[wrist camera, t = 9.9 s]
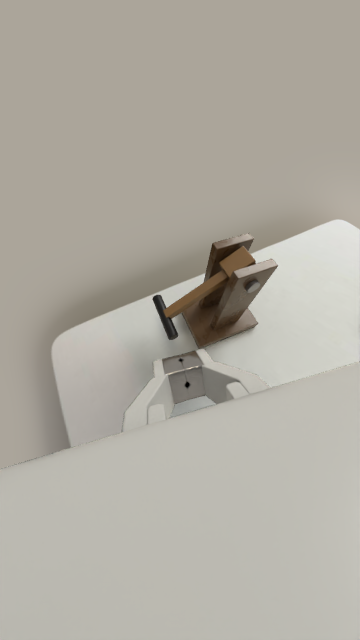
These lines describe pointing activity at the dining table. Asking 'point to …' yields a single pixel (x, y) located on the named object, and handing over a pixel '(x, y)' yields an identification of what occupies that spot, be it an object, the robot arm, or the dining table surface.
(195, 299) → the switch lever
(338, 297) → the dining table surface
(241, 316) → the switch bracket
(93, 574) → the robot arm
